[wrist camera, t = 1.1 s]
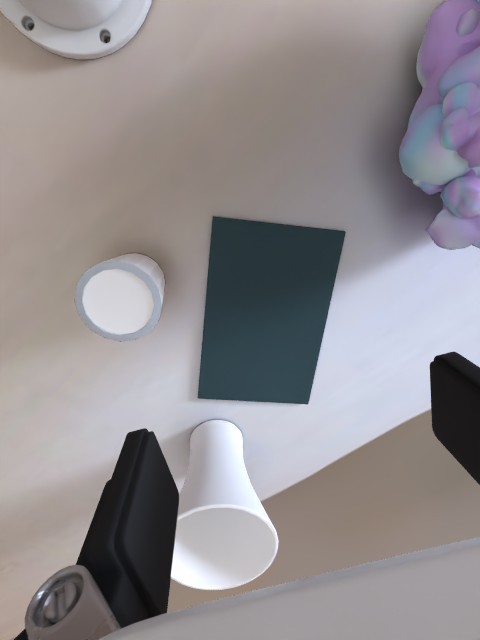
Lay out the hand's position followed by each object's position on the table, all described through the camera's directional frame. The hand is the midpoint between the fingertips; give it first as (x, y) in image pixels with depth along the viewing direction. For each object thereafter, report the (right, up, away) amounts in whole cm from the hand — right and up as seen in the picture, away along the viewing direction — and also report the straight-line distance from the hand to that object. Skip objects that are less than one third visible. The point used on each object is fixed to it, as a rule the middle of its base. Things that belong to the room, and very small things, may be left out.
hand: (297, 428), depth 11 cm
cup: (-5, -11, +30) cm, 33 cm away
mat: (+1, +4, +25) cm, 25 cm away
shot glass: (-12, +8, +23) cm, 27 cm away
